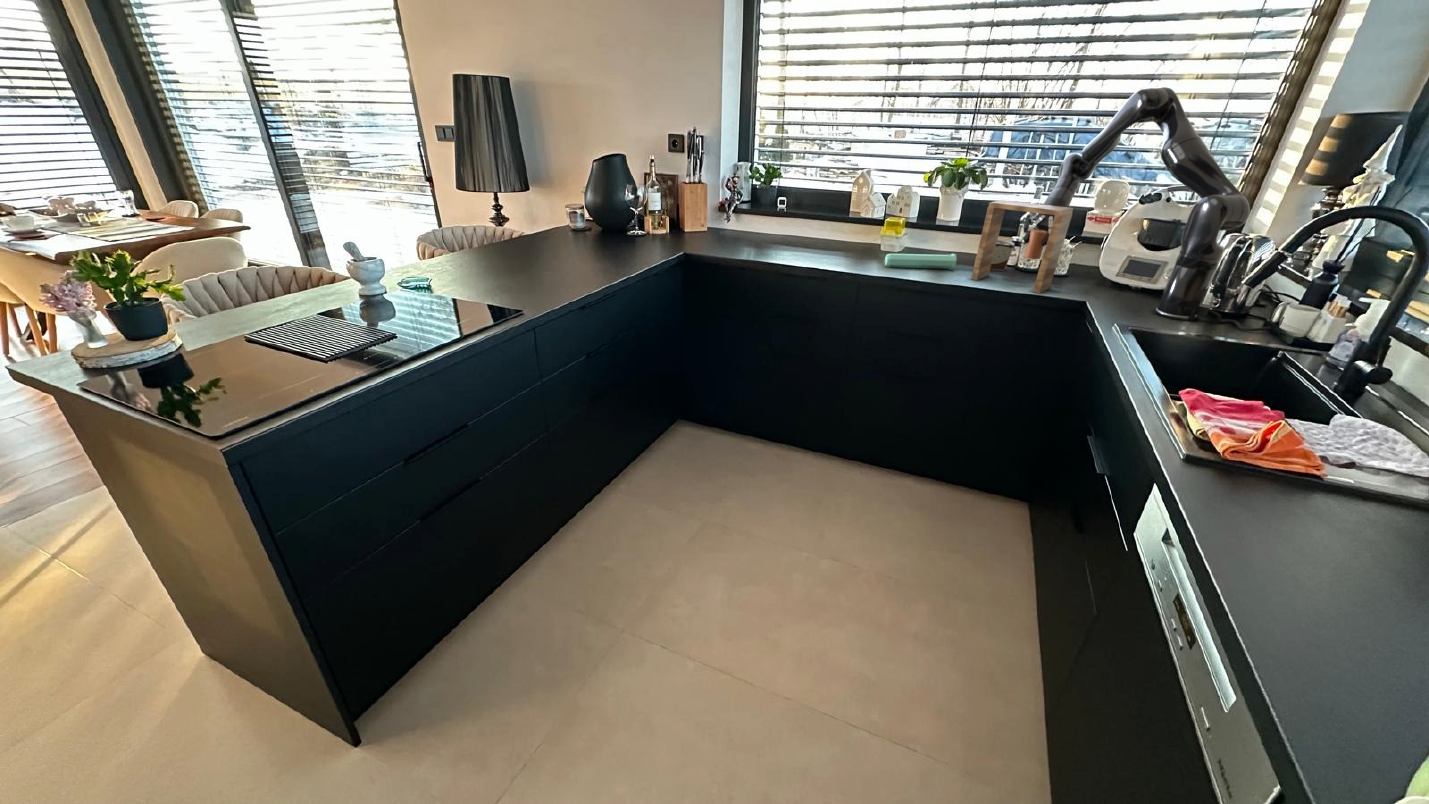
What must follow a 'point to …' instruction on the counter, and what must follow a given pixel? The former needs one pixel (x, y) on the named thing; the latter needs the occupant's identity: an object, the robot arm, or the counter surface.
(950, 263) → the container
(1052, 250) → the shelf
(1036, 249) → the tea tin
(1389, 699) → the counter surface
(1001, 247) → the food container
